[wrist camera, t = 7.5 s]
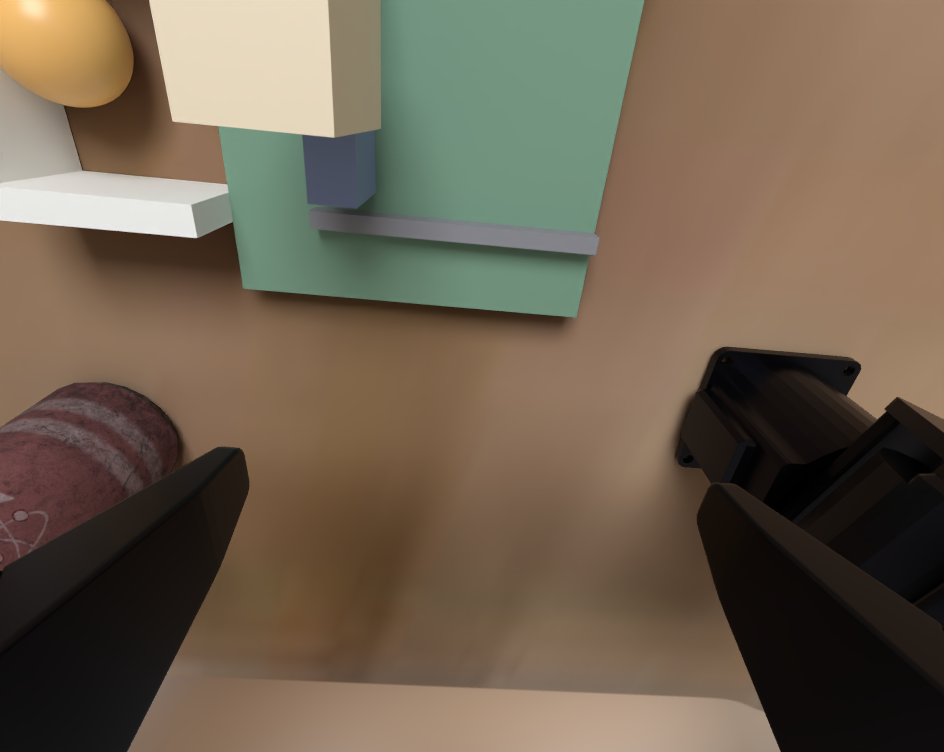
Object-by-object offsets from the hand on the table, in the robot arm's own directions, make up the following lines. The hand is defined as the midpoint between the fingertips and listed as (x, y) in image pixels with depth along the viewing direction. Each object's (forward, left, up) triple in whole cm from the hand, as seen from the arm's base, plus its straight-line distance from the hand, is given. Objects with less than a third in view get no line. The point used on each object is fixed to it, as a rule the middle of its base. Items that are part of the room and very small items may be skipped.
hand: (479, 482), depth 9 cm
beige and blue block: (+5, -7, -10) cm, 13 cm away
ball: (+13, -7, -10) cm, 18 cm away
